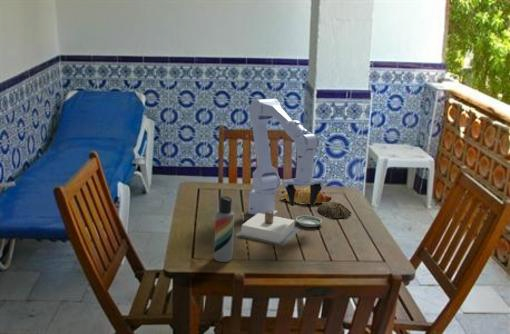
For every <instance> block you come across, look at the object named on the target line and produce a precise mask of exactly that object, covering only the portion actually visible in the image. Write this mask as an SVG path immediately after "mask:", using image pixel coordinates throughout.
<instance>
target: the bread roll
mask: <svg viewBox="0 0 510 334" xmlns="http://www.w3.org/2000/svg"><path fill="white" fill-rule="evenodd" d="M318 211H319V212H320V213H319V212H318ZM317 212H318V213H319V214H321V215H322V214H323V215H322V216H324V215H326V216H325V217H327V216H328V217H327V218H329V217H331V218H330V219H333V218H336V219H344V218H348V217H349V215H350V214H351V215H352V211H351V210H350V209H348V207H346V206H344V204H342V203H339V202H335V201H328V202H326V203H322V204H319V206H318V207H317ZM351 215H350V216H351ZM349 218H350V217H349ZM349 218H348V219H349Z"/></svg>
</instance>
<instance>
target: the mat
mask: <svg viewBox="0 0 510 334" xmlns="http://www.w3.org/2000/svg"><path fill="white" fill-rule="evenodd" d="M300 231H301V229H300V228H296V227H294V230H293V231H292V232H291V233H290V234H289V235H288V236H287V237H286V238H285V239H284V240H283V241H281V242H280V243H277V242H272V241H268V240H263V239H259V238H254V237H250V236H245V235H241V232H242V229H240V230H239V231H238V232H237V233H234V236H236V237H237V236H238V237H243V238H247V239H251V240H256V241H260V242H264V243H269V244H273V245H278V246H283V247H284V246H285V245H286V244H287V243H288V242H289V241H290V240H291V239H292V238H294V236H295V235H296V234H297V233H299V232H300Z"/></svg>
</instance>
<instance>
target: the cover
mask: <svg viewBox="0 0 510 334" xmlns="http://www.w3.org/2000/svg"><path fill="white" fill-rule="evenodd" d="M295 221H296V219H290V218H285V217H281V216H275V214H274V212H273V211H266V212H265V214H261V213H257V214H256V215H254V216H252V217H251V218H249V219H247V221H245V222H244V223H242V224H241V230H242V232H241V235H245V236H250V237H254V238H259V239H263V240H268V241H272V242H277V243H280V242H281V241H283V240H284V239H285V238H286V237H287V236H288V235H289V234H290V233H291V232H292V231H293V230H294V228H295V226H296V225H295Z"/></svg>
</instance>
